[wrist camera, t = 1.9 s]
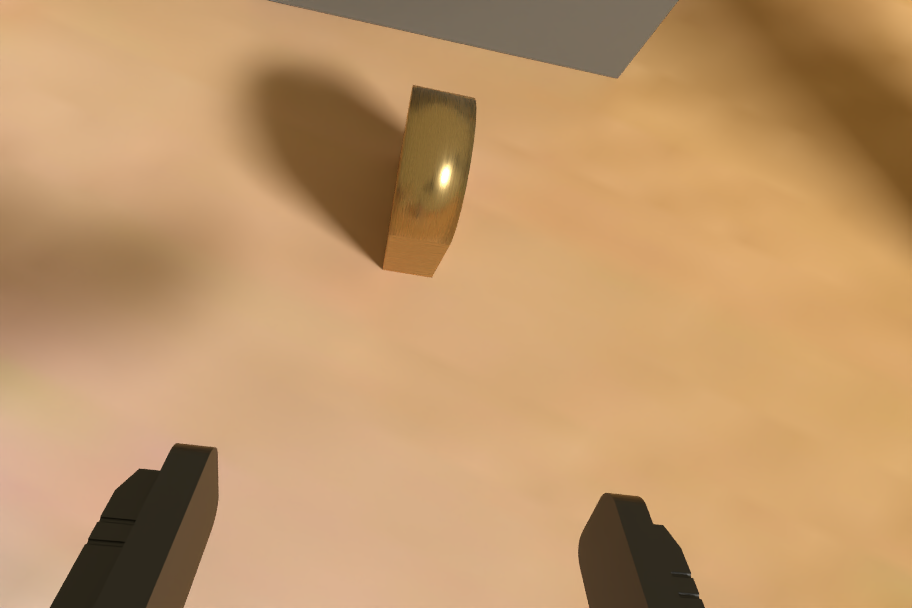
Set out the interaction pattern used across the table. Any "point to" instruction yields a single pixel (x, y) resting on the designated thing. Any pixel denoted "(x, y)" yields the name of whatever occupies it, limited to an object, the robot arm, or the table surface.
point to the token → (430, 180)
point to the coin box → (521, 26)
